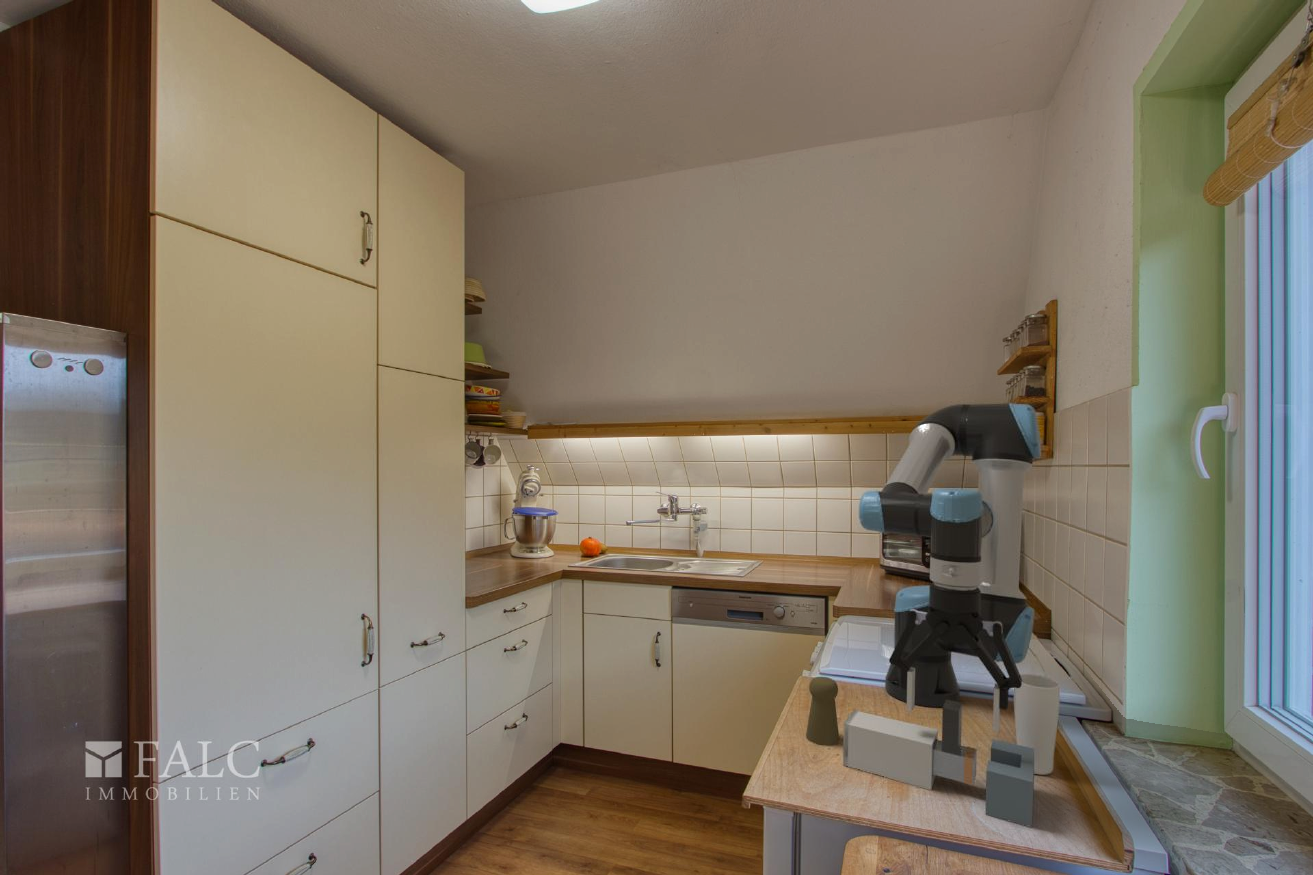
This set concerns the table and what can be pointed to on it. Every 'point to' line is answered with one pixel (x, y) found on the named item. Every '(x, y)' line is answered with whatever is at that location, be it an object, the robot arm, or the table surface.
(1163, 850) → the table surface
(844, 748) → the sleeve
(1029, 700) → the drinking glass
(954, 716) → the sliding bolt
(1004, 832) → the table surface
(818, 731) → the olive knob-topped post
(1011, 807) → the socket
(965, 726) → the table surface
